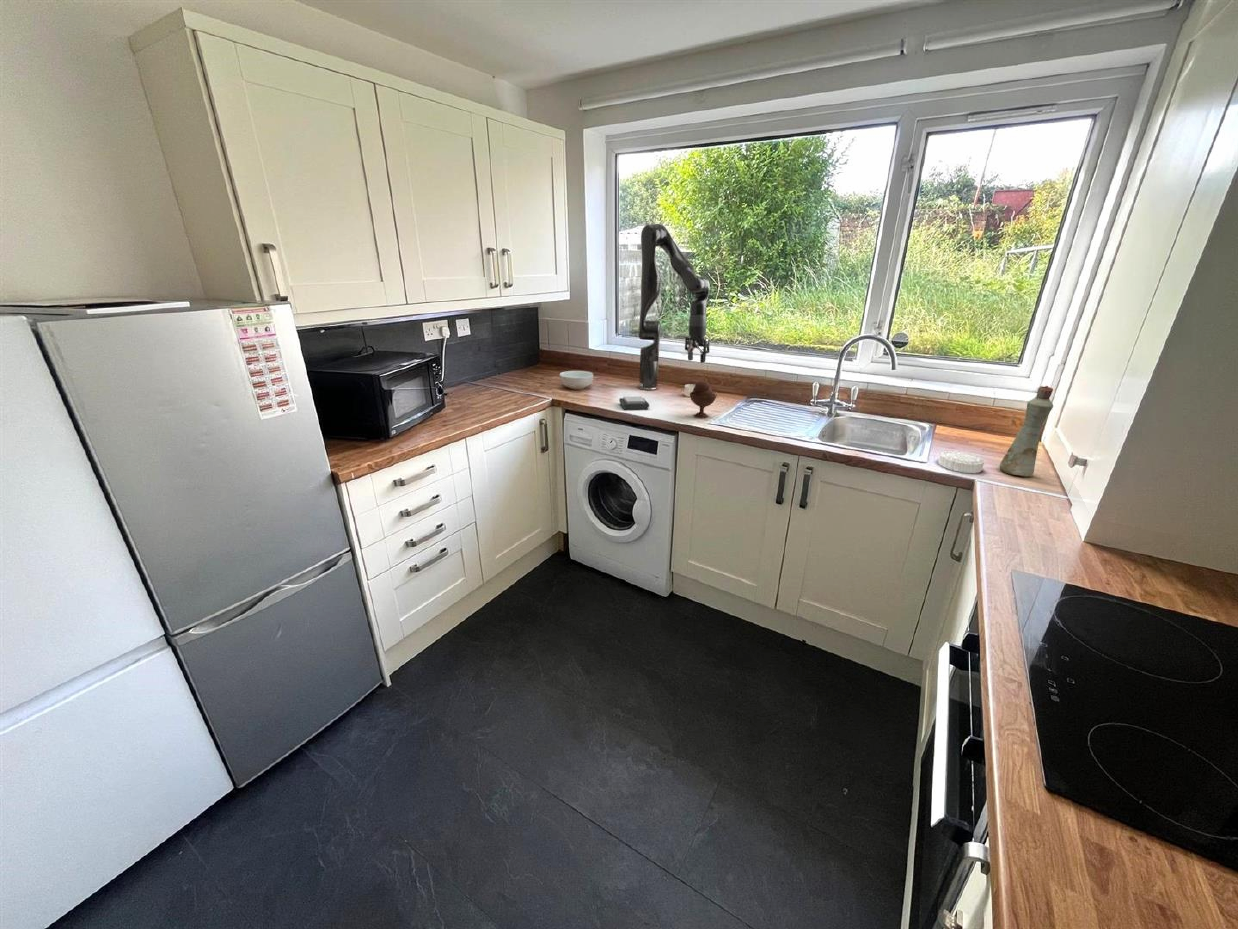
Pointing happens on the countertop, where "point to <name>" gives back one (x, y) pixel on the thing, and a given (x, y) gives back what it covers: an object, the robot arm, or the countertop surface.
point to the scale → (634, 405)
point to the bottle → (1028, 436)
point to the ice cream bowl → (702, 397)
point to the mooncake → (961, 462)
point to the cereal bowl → (576, 379)
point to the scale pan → (634, 400)
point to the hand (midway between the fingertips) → (696, 361)
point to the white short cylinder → (688, 389)
